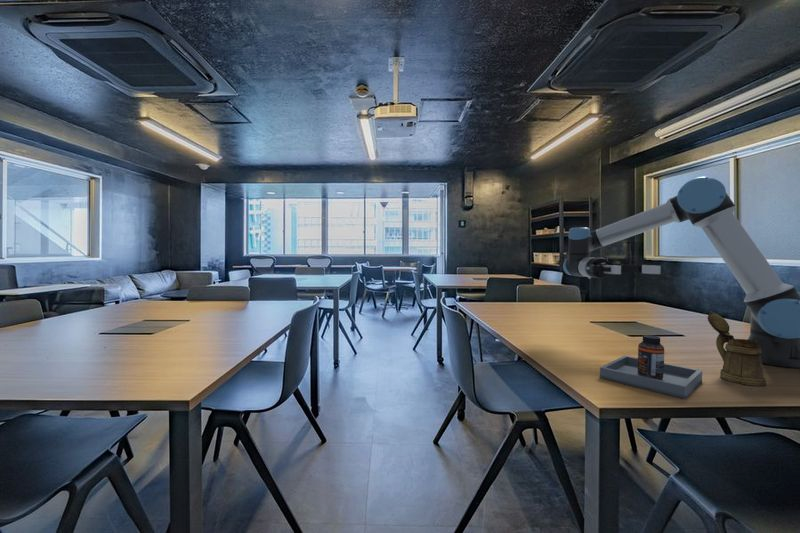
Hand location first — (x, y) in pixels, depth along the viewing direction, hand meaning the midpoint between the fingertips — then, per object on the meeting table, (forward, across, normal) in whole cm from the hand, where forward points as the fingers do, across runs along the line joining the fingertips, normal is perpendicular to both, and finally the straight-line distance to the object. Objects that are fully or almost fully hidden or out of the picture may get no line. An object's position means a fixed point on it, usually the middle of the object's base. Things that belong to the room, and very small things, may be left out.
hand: (639, 269), depth 111 cm
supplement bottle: (+12, +7, -29) cm, 33 cm away
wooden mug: (+14, -18, -30) cm, 38 cm away
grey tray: (+13, +7, -30) cm, 33 cm away
